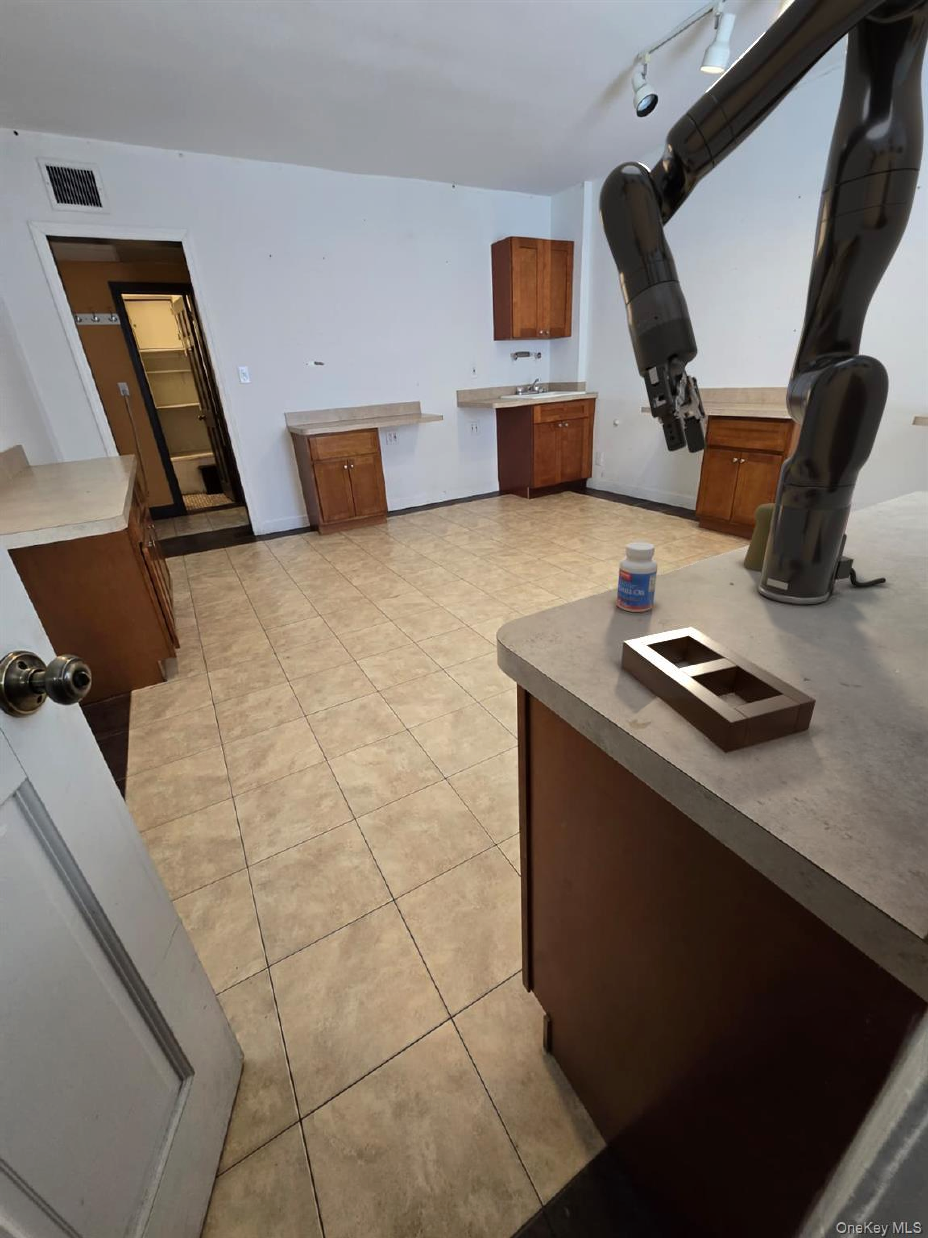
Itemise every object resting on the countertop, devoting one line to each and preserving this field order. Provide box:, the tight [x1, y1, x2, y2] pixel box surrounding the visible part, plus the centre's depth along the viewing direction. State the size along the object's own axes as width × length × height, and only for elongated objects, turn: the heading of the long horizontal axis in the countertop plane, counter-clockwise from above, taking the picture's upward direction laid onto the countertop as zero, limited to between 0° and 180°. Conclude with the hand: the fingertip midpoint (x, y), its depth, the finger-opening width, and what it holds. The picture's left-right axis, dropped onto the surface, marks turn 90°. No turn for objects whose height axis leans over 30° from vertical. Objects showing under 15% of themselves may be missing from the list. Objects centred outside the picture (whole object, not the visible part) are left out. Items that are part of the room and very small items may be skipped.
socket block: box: [621, 626, 817, 754], centre depth 56 cm, size 10×18×4 cm, turn 17°
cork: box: [742, 502, 775, 572], centre depth 90 cm, size 6×6×11 cm
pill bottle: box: [616, 541, 658, 613], centre depth 78 cm, size 6×5×10 cm
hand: (688, 450), depth 70 cm, fingers open, 8 cm apart
